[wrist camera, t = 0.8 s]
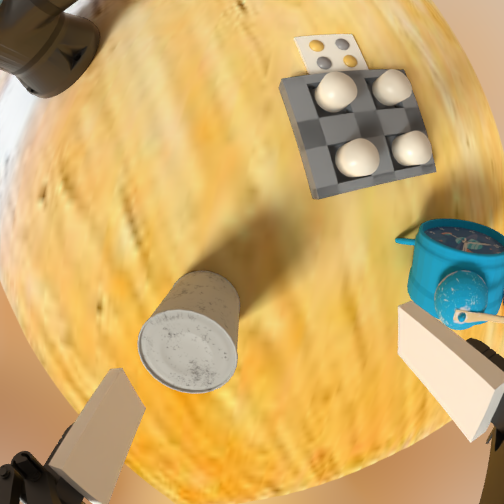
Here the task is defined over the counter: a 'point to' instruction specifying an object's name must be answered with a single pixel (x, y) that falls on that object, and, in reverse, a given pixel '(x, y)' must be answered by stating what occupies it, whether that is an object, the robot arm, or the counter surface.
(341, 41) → the card
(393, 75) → the button
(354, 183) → the button board
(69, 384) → the counter surface
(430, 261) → the alarm clock
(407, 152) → the button
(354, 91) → the button
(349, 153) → the button
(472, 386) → the robot arm
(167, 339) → the speckled white tin can
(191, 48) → the counter surface
